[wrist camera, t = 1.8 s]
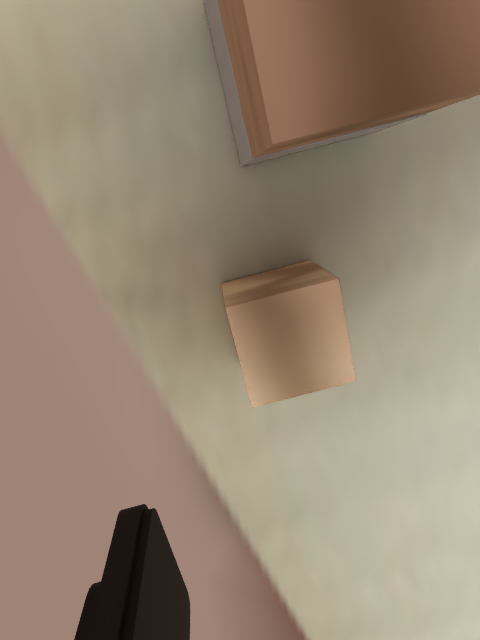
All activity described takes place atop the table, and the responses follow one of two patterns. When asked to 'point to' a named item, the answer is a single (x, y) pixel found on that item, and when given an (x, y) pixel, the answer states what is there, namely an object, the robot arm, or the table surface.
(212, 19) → the base block
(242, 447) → the table surface
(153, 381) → the table surface
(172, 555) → the robot arm
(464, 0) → the top block
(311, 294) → the oak cube
